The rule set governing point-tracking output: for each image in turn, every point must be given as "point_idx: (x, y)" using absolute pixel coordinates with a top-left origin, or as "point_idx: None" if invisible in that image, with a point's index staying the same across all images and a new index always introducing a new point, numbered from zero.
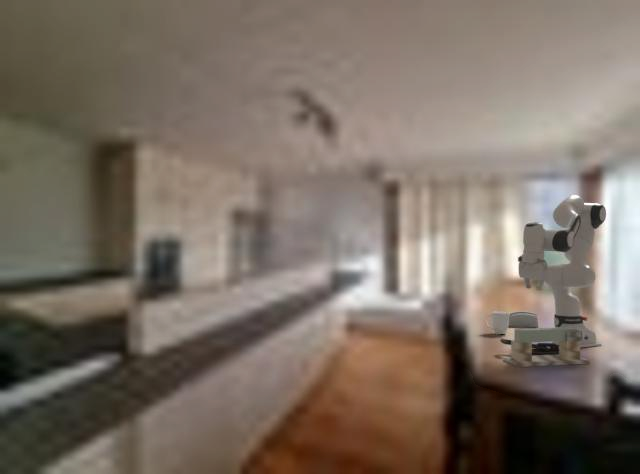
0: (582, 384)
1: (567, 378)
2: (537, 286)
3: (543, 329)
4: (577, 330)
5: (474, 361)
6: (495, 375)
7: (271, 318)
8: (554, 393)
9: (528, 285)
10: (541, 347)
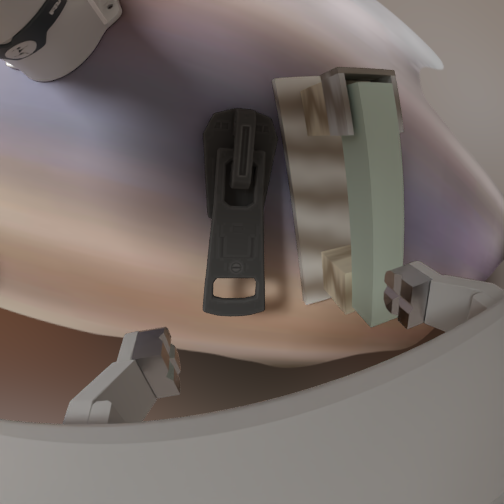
0: (477, 199)
1: (453, 206)
2: (419, 321)
3: (398, 228)
4: (374, 72)
5: (307, 360)
6: (411, 329)
7: None
8: (490, 261)
9: (175, 374)
10: (264, 178)
